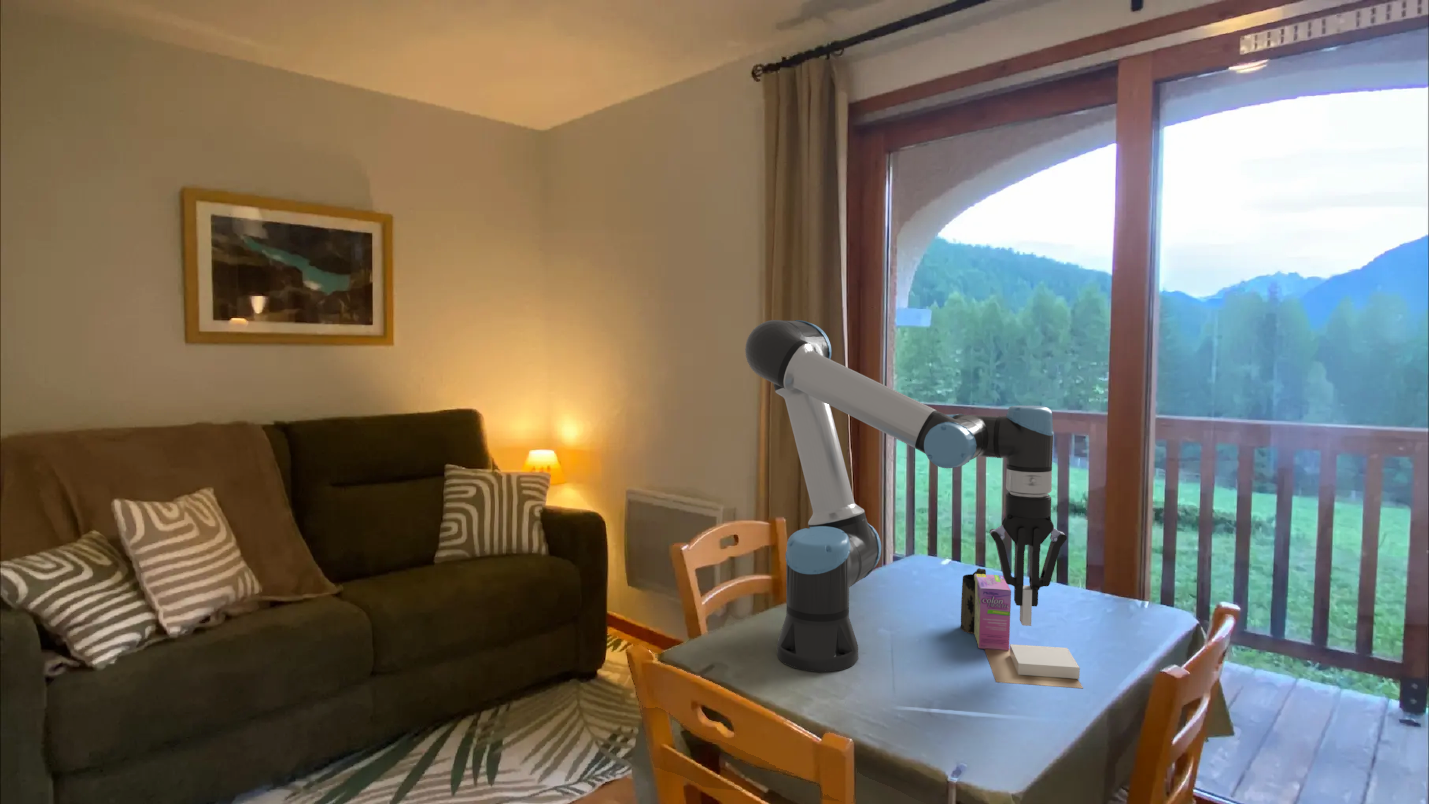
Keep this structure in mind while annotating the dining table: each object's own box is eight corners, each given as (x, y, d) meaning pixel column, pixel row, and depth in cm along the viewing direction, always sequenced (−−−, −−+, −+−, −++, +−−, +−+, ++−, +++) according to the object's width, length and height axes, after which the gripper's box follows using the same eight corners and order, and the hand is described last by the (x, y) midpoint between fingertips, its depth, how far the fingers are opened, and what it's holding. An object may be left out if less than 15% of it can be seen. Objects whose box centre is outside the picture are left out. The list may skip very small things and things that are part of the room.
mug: (984, 637, 158) (985, 578, 158) (956, 632, 161) (957, 573, 161) (995, 626, 165) (996, 569, 164) (968, 621, 168) (969, 565, 167)
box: (1010, 651, 151) (1011, 589, 150) (978, 648, 152) (979, 587, 151) (1002, 632, 161) (1003, 574, 160) (972, 630, 162) (973, 573, 161)
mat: (996, 684, 137) (996, 681, 137) (983, 649, 153) (983, 646, 153) (1083, 691, 135) (1083, 688, 135) (1061, 654, 150) (1061, 651, 150)
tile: (1018, 663, 140) (1079, 667, 138) (1009, 644, 148) (1067, 647, 147) (1018, 675, 140) (1079, 679, 138) (1009, 655, 149) (1067, 659, 147)
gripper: (993, 495, 139) (990, 628, 141) (1072, 498, 137) (1069, 632, 138) (987, 488, 146) (984, 613, 148) (1062, 490, 144) (1059, 618, 146)
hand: (1025, 622), depth 143 cm, fingers closed
